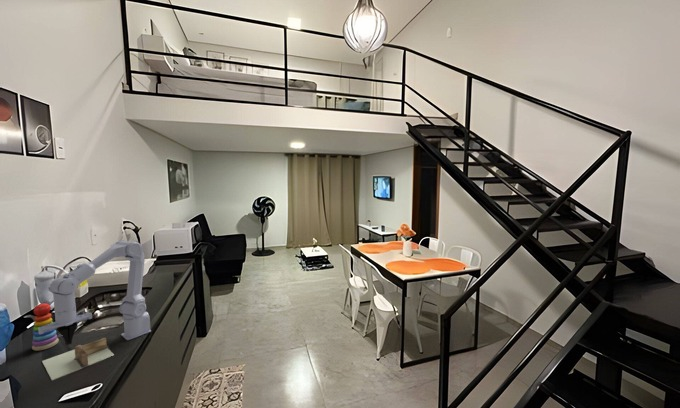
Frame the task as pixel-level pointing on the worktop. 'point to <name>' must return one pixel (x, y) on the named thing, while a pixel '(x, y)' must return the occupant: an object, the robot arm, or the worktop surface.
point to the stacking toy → (41, 320)
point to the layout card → (72, 362)
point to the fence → (92, 347)
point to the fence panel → (82, 356)
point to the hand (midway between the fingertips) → (68, 343)
